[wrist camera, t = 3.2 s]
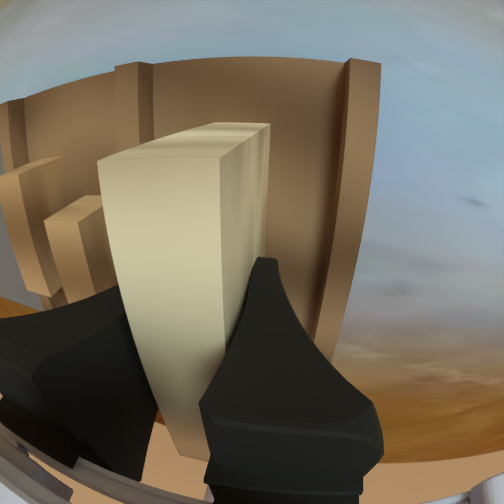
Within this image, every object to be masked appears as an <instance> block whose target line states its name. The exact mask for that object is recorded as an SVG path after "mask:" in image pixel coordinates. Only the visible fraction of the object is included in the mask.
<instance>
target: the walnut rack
mask: <svg viewBox="0 0 504 504" xmlns="http://www.w3.org/2000/svg"><path fill="white" fill-rule="evenodd" d="M380 81H381V63H376V62H371V61H365V60H359V59H353V58H350V59H349V60H348V61H346V62H345V63H341V62H334V61H325V60H315V59H303V58H287V57H219V58H203V59H191V60H181V61H172V62H164V63H157V64H150V63H144V62H133V63H128V64H123V65H118V66H115V71H113V72H108V73H104V74H100V75H96V76H92V77H88V78H84V79H80V80H77V81H73V82H70V83H67V84H63V85H60V86H57V87H54V88H51V89H48V90H45V91H42V92H39V93H36V94H34V95H31V96H28V97H26V98H22V99H17V100H11V101H7V102H5V103H3V104H0V141H1V150H2V158H3V165H4V172H5V173H7V172H9V171H12V170H14V169H16V168H19V167H21V166H23V165H26V164H28V163H31V162H33V161H36V160H39V159H46V158H54V157H62V156H63V164H64V172H65V179H66V185H67V192H68V197H69V203H70V204H71V203H73V202H75V201H77V200H78V199H80V198H82V197H84V196H85V195H101V190H100V183H99V175H98V166H97V161H98V160H101V159H103V158H106V157H108V156H111V155H113V154H116V153H119V152H121V151H124V150H127V149H130V148H132V147H135V146H138V145H141V144H144V143H147V142H150V141H153V140H156V139H159V138H162V137H165V136H169V135H172V134H175V133H179V132H182V131H185V130H189V129H193V128H196V127H200V126H203V125H207V124H211V123H215V122H232V123H266V124H270V149H269V174H268V198H267V220H266V241H265V257H266V258H275V259H276V260H277V261H278V269H279V274H280V278H281V281H282V284H283V287H284V289H285V292H286V295H287V297H288V299H289V302H290V304H291V306H292V308H293V310H294V312H295V314H296V316H297V318H298V319H299V321H300V323H301V324H302V326H303V328H304V329H305V331H306V332H307V334H308V335H309V337H310V338H311V340H312V341H313V342H314V344H315V345H316V346H317V348H318V349H319V350H320V351H321V352H322V354H323V355H324V356H325V357H326V358H327V360H328V361H329V362H331V359H332V355H333V352H334V349H335V345H336V342H337V338H338V335H339V331H340V327H341V324H342V320H343V316H344V313H345V309H346V305H347V301H348V297H349V293H350V288H351V284H352V280H353V276H354V271H355V267H356V262H357V257H358V252H359V248H360V243H361V237H362V232H363V227H364V221H365V216H366V210H367V204H368V197H369V191H370V184H371V177H372V170H373V162H374V154H375V145H376V135H377V125H378V113H379V99H380ZM38 296H39V298H40V301H41V303H42V305H43V308H44V310H45V311H47V310H50V309H54V308H58V307H61V306H64V305H67V304H69V303H68V300H67V298H66V295H65V292H64V289H63V286H62V287H61V288H60V289H59V290H58V291H57V292H56V293H55V294H54V295H53V296H52V297H49V296H45V295H41V294H38Z"/></svg>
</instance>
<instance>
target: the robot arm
mask: <svg viewBox="0 0 504 504" xmlns="http://www.w3.org/2000/svg"><path fill="white" fill-rule="evenodd" d="M0 393H1V394H2V395H3V397H2V398H1V400H0V504H72V503H70V498H71V496H72V494H73V490H72V488H70V487H68V486H67V485H65V484H64V483H62V482H61V481H60V480H58V479H57V478H55V477H54V476H53V475H51V474H50V473H49V472H47V471H46V470H45V469H44V468H42V467H41V466H40V465H39V464H38V463H36V462H35V461H34V460H32V459H31V458H30V457H29V454H28V452H29V453H30V454H31V455H33V456H35V457H36V458H38V459H39V460H41V461H42V462H44V463H45V464H47V465H49V466H50V467H52V468H54V469H55V470H57V471H59V472H61V473H62V474H64V475H66V476H68V477H69V478H71V479H73V480H75V481H77V482H79V483H81V484H83V485H85V486H87V487H89V488H91V489H93V490H95V491H97V492H99V493H101V494H103V495H106V496H108V497H110V498H112V499H115V500H117V501H120V502H122V503H125V504H359V495H361V494H362V493H363V477H364V476H365V475H366V474H367V473H368V472H369V471H370V470H371V469H372V468H373V467H374V466H375V465H376V464H377V463H378V462H379V461H380V459H381V458H382V456H383V455H384V443H383V435H382V430H381V426H380V423H379V419H378V416H377V413H376V410H375V407H374V404H373V402H372V401H371V400H369V399H368V398H367V397H366V396H365V395H363V394H362V393H361V392H360V391H359V390H357V389H356V388H355V387H354V386H353V385H352V384H350V383H349V382H348V381H347V380H346V379H345V378H344V377H343V376H342V375H341V374H340V373H339V372H338V371H337V370H336V369H335V368H334V367H333V366H332V364H331V363H330V362H329V361H328V360H327V358H326V357H325V356H324V355H323V354H322V352H321V351H320V350H319V349H318V348H317V346H316V345H315V344H314V342H313V341H312V340H311V338H310V337H309V335H308V334H307V332H306V331H305V329H304V328H303V326H302V324H301V323H300V321H299V319H298V318H297V316H296V314H295V312H294V310H293V308H292V306H291V304H290V302H289V299H288V297H287V295H286V292H285V289H284V287H283V284H282V281H281V278H280V274H279V269H278V261H277V260H276V259H275V258H266V257H257V259H256V260H255V263H254V265H253V267H252V270H251V276H250V282H249V289H248V295H247V301H246V305H245V309H244V311H243V314H242V317H241V319H240V322H239V325H238V327H237V330H236V332H235V334H234V337H233V339H232V341H231V344H230V346H229V348H228V350H227V352H226V354H225V356H224V358H223V360H222V362H221V364H220V366H219V368H218V370H217V372H216V374H215V375H214V377H213V379H212V381H211V382H210V384H209V386H208V388H207V389H206V391H205V393H204V394H203V396H202V397H201V399H200V400H199V402H198V404H199V409H200V413H201V418H202V422H203V426H204V431H205V435H206V439H207V443H208V447H209V451H210V458H209V462H208V465H207V469H206V473H205V476H204V483H206V484H208V486H207V489H206V493H205V497H204V500H198V499H194V498H190V497H186V496H182V495H179V494H175V493H171V492H168V491H164V490H161V489H158V488H155V487H152V486H149V485H146V484H143V483H140V481H141V478H142V473H143V468H144V463H145V458H146V453H147V449H148V444H149V440H150V436H151V432H152V428H153V425H154V421H155V418H156V414H157V411H158V408H159V407H158V405H157V403H156V400H155V397H154V395H153V392H152V390H151V387H150V384H149V382H148V379H147V376H146V373H145V371H144V368H143V365H142V362H141V359H140V356H139V353H138V350H137V347H136V344H135V341H134V338H133V334H132V331H131V328H130V324H129V321H128V318H127V314H126V311H125V307H124V303H123V299H122V296H121V292H120V288H119V284H117V285H115V286H113V287H111V288H109V289H107V290H104V291H102V292H100V293H97V294H95V295H93V296H90V297H88V298H85V299H82V300H79V301H76V302H73V303H70V304H67V305H64V306H61V307H58V308H54V309H50V310H47V311H42V312H38V313H33V314H28V315H23V316H16V317H9V318H1V319H0ZM421 504H504V472H503V473H500V474H498V475H495V476H493V477H490V478H488V479H487V480H484V481H482V482H481V483H479V484H478V485H476V486H474V487H473V488H472V489H471V490H470V491H468V492H465V493H461V494H458V495H454V496H450V497H447V498H443V499H439V500H435V501H430V502H426V503H421Z"/></svg>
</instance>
